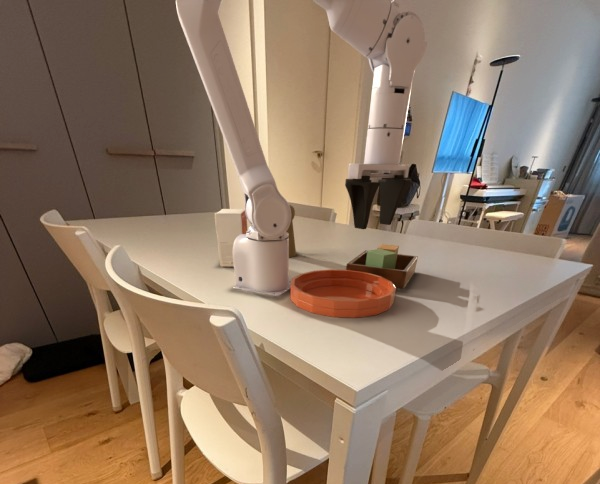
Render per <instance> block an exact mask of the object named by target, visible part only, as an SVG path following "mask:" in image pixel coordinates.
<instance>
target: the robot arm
mask: <svg viewBox="0 0 600 484" xmlns="http://www.w3.org/2000/svg"><path fill="white" fill-rule="evenodd" d="M223 1H224V0H175V5H176V13H177V17H178V21H179V23H180V26H181V29H182V31H183V33H184V37H185V39H186V43H187V45H188V46H189V50H190V52H191V55H192V57H193V61H194V63H195V66H196V69H197V71H198V73H199V76H200V79H201V81H202V84H203V87H204V90H205V93H206V94H207V97H208V101H209V103H210V106H211V108H212V110H213V113H214V116H215V118H216V121H217V124H218V127H219V129H220V132H221V135H222V138H223V139H224V142H225V145H226V148H227V150H228V153H229V156H230V158H231V161H232V163H233V166H234V168H235V171H236V174H237V177H238V180H239V185H240V189H241V191H242V194H243V196H244V209H245V214H246V217H247V222H249V224H250V226H249V227H248V228H247V230H248V231H247V232H246V234H242V235H239V236H238V237H237V238H236V239H235V242H234V245H233V263H234V267H233V275H234V283H235V286H233V289H234V290H235V289H236V290H240V291H246V292H252V293H258V294H262V295H263V294H264V295H268V296H274V297H280V296H282V295H283V294H285V293H286V292H288V291H289V290H291V281H290V257H289V233H288V232H286V231H287V229H288V228H289V226H290V223H291V209H290V206H289V205H290V204H289V202H288V201H287V199H286V198H285V197H284V196H283V195H282V194H281V193H280V190H279V189H278V186H277V182H276V179H275V177H274V175H273V174H272V172H271V169H270V167H269V166H268V162H267V160H266V157H265V154H264V151H263V147H262V145H261V142H260V141H261V140H260V139H259V135H258V133H257V129H256V127H255V126H256V125H255V124H254V123H255V122H254V120H253V117H252V114H251V111H250V108H249V105H248V101H247V99H246V95H245V93H244V90H243V87H242V86H243V85H242V83H241V81H240V77H239V74H238V70H237V68H236V65H235V62H234V59H233V56H232V53H231V50H230V46H229V44H228V41H227V38H226V34H225V30H224V28H223V24H222V22H221V19H220V16H219V15H220V11H221V8H222V5H223ZM311 1H312V2H313V3H315V4H316V5H318V6H320V7H321V8H322V9H323V10H325V12H326V15H327V20H328V24H329V28H330V31H332V32H333V33H334V34H335V35H337V36H338V37H339V38H340V39H341V40H343V41H344V42H346V43H347V44H348V45H349V46H351V47H352V48H353V49H354V50H356V51H357V52H358V53H359V54H361V55H362V56H363V57H365V58H366V59H368V64H369V67H370V70H371V72H372V73H373V79H372V88H371V96H370V97H371V98H370V105H369V113H368V121H367V122H368V124H367V133H366V141H365V150H364V159H363V163H361V162H359V163H349V164H348V173H347V178H346V179H345V183H344V186H345V189H346V191H347V193H348V196H349V200H350V203H351V209H352V216H353V226H354V228H355V229H359V230H367V227H368V224H369V220H370V215H371V210H372V206H373V201H374V199H375V196H376V193H377V191H378V189H379V197H380V202H379V203H380V205H379V215H378V216H379V217H378V218H379V220H378V221H379V224H380V225H386V226H391V225H392V223H393V220H394V218H395V215H396V212H397V209H398V208H399V205H400V202H401V201H402V198H403V197H404V195H405V194H406V192H407V190H408V189H409V188H410V186H411V182H412V179H411V178H408V177H409V172H410V164H402V163H401V157H402V156H401V155H402V149H403V141H404V135H405V130H406V125H407V124H406V123H407V117H408V111H409V107H410V106H409V105H410V100H411V93H412V87H413V82H414V77H415V76H414V75H415V71H416V69H417V67H418V66H419V64H420V63H421V61H422V59H423V58H424V55H425V53H426V50H427V47H428V42H427V41H425V29H424V28H425V27H424V26H423V22H422V20H421V19H420V17H419V16H418V15H417V14H416V13H415V12H413V11H409V10H408V11H402V12H401V10H400V3H399V2H398V1H397V0H311ZM379 171H381V172H382V173H379ZM372 179H378V180H377V181H373V180H372Z"/></svg>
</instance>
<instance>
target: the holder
mask: <svg viewBox="0 0 600 484" xmlns="http://www.w3.org/2000/svg"><path fill="white" fill-rule="evenodd" d="M367 251H368V250H366V249H365V250H363V251H362V252H361V253H360V254H359V255H357V256H355V257H354V258H353V259H351V260H350V261H349V262H347V263H346V268H345V270H352V271H360V272H367V273H370V274H374V275H378V276H381V277H383V278H385V279H387V280H389V281H391V282H392V283H393V284H394V286H395V288H396V289H398V290H399V289H400V290H404V289H405V287H406V286H407V285H408V283H409V281H410V280H411V278H412V277H413V275H414V274H415V272H416V267H417V263H418V258H419V256H418V255H409V254H402V253H398V255H397V260H396V266H395V269H389V268H382V267H374V266H366V258H367Z"/></svg>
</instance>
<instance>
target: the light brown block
mask: <svg viewBox="0 0 600 484" xmlns="http://www.w3.org/2000/svg"><path fill="white" fill-rule="evenodd" d="M399 248H400V245H397V244H396V245H395V244H386V243H382V244H381V245H379V246H378V247H376V249H383V250H387V251H390V252H394V253H397V255H398V254H399ZM396 260H397V257H396ZM395 266H396V263H395ZM394 269H395V268H394Z"/></svg>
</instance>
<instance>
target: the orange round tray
mask: <svg viewBox="0 0 600 484" xmlns="http://www.w3.org/2000/svg"><path fill="white" fill-rule="evenodd" d="M290 282H291V289H290V301H291V302H292V303H293V304H294V305H295V306H296V307H297V308H299V309H301V310H304V311H307V312H309V313H312V314H316V315H320V316H321V315H322V316H327V317H332V318H355V319H357V318H365V317H371V316H377V315H379V314H382V313H384V312H386V311H389V310H390V309H391V307H392V305H393V304H394V301H395V295H396V291H397V288H395V286H394V284H393V283H392V282H391V281H389V280H387V279H385V278H383V277H381V276H378V275H374V274H370V273H367V272H360V271H352V270H346V269H319V270H312V271H306V272H304V273H303V272H302V273H300V274H298V275H296V276H294V277H293V278H291V281H290Z"/></svg>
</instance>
